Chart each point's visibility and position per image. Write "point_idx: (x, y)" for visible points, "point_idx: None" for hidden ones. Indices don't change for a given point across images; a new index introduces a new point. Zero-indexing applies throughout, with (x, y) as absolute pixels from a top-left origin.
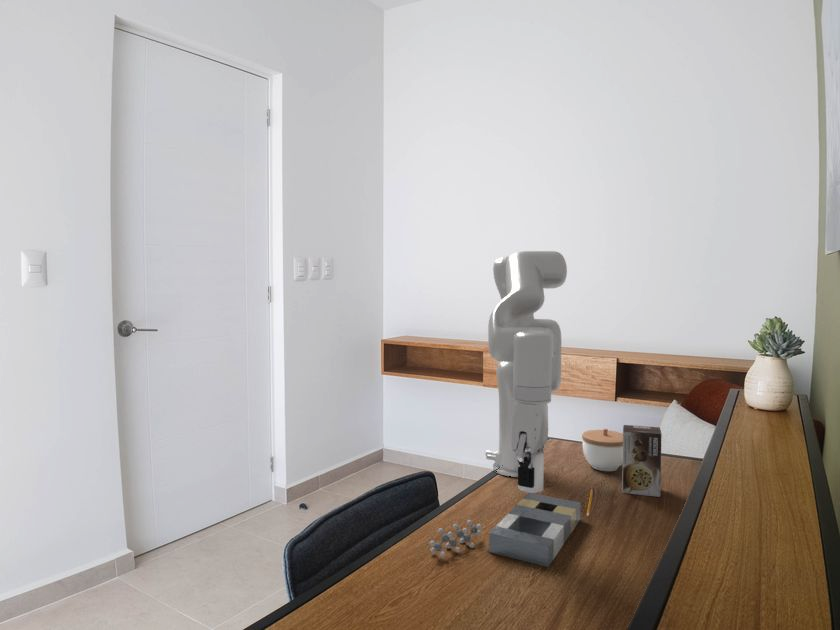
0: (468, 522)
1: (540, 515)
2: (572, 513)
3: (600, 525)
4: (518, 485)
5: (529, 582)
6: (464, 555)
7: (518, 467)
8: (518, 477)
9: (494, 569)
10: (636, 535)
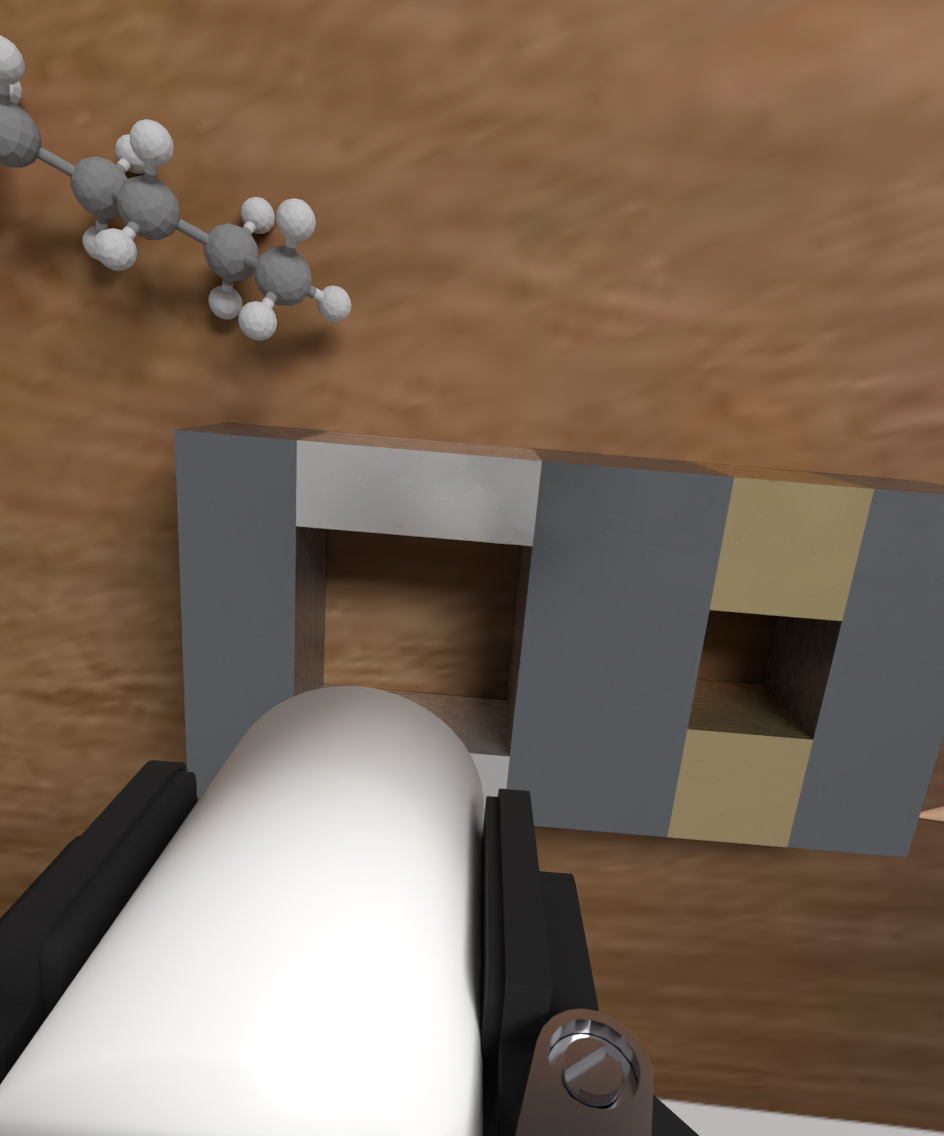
0: (276, 216)
1: (596, 672)
2: (707, 839)
3: (804, 883)
4: (281, 712)
5: (56, 689)
6: (119, 298)
7: (10, 925)
8: (104, 818)
9: (71, 508)
10: (740, 1027)
